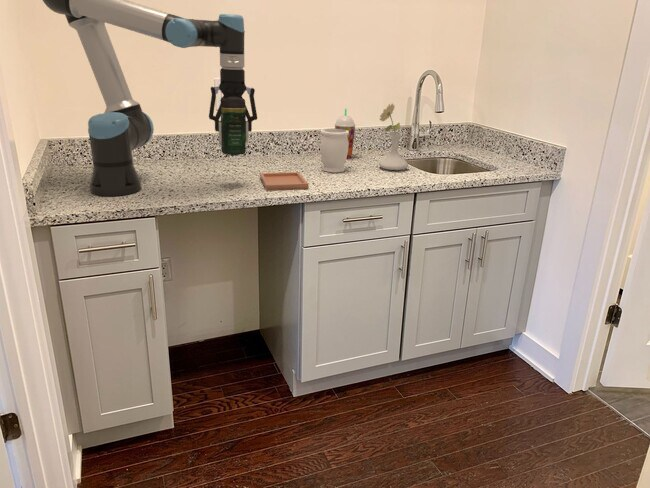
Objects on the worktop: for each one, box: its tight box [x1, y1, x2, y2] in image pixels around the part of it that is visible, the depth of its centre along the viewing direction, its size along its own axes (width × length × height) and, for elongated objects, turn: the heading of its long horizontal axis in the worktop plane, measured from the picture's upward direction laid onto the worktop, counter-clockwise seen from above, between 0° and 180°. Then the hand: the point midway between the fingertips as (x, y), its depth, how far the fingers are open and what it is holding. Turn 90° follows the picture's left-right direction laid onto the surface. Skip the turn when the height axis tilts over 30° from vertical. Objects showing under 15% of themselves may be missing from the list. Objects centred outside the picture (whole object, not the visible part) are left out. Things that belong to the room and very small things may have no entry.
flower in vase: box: [378, 102, 409, 171], centre depth 202 cm, size 13×11×25 cm
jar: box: [319, 128, 349, 174], centre depth 200 cm, size 11×10×15 cm
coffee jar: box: [220, 95, 247, 157], centre depth 172 cm, size 10×8×19 cm
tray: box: [259, 171, 309, 192], centre depth 183 cm, size 14×16×2 cm
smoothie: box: [334, 108, 356, 160], centre depth 220 cm, size 8×8×20 cm
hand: (233, 141), depth 174 cm, fingers closed on coffee jar, 8 cm apart
